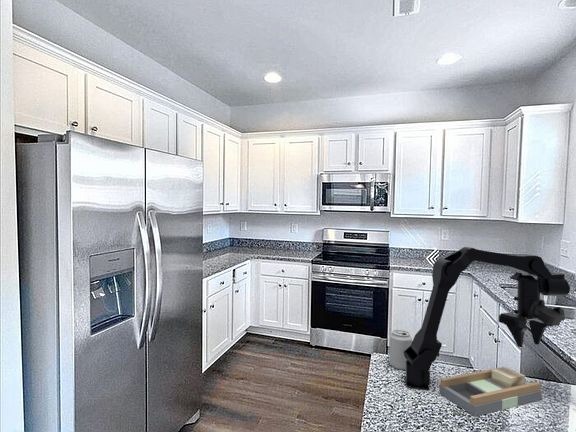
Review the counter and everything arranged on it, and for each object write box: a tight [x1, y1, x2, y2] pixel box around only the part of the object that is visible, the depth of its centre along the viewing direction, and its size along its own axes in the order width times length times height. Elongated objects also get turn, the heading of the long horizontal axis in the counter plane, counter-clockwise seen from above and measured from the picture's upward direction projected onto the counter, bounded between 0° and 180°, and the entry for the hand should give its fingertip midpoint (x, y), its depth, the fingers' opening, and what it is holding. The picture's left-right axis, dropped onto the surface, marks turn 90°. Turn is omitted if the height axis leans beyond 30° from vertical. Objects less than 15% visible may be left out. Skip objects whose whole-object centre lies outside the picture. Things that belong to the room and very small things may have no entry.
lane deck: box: [438, 366, 543, 417], centre depth 96 cm, size 26×12×4 cm, turn 110°
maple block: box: [491, 366, 526, 388], centre depth 99 cm, size 6×6×4 cm
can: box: [388, 329, 413, 371], centre depth 115 cm, size 8×8×12 cm
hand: (528, 345), depth 101 cm, fingers open, 7 cm apart
